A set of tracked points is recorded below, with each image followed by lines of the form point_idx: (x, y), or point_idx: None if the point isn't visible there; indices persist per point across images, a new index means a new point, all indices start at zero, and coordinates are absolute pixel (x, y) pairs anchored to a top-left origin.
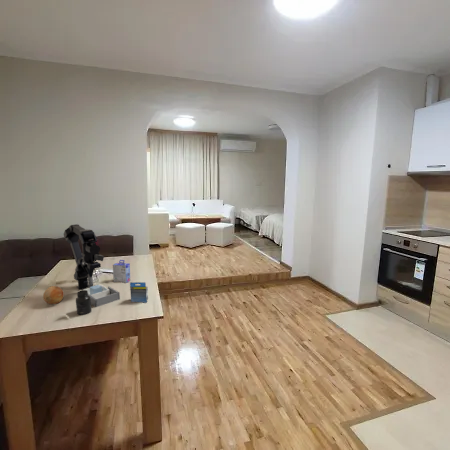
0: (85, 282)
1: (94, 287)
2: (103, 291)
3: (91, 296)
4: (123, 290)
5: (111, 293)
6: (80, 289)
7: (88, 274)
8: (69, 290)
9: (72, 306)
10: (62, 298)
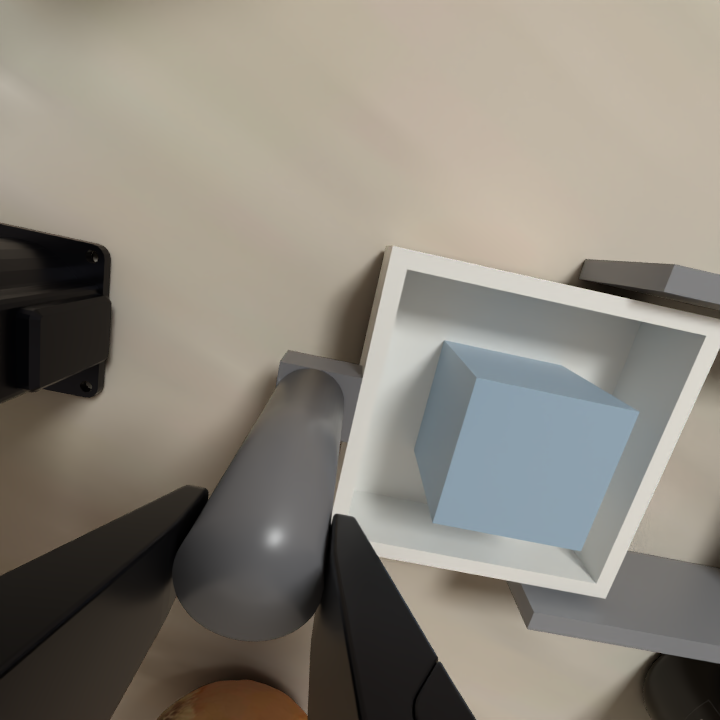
0: (48, 346)
1: (528, 493)
2: (679, 420)
3: (707, 651)
4: (688, 26)
5: (717, 308)
6: (99, 391)
7: (247, 628)
8: (5, 466)
9: (463, 658)
10: (296, 715)
